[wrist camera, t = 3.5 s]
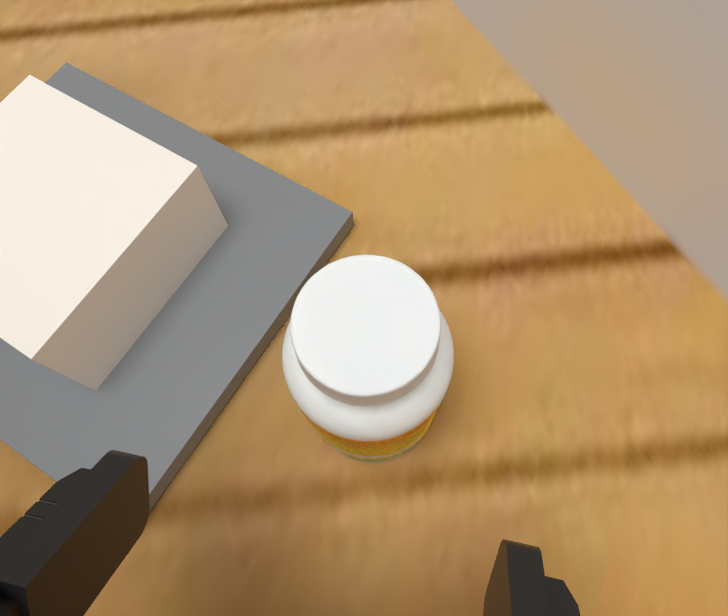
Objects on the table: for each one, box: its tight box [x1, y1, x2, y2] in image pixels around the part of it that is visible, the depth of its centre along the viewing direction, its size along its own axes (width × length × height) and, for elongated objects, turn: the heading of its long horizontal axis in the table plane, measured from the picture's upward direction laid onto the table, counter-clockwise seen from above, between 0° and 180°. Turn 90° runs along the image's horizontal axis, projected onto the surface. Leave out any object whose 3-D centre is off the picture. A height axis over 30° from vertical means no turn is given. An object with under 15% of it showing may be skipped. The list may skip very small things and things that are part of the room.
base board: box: [0, 63, 354, 512], centre depth 26 cm, size 18×16×1 cm
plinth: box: [0, 75, 228, 391], centre depth 23 cm, size 9×9×4 cm
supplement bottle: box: [282, 255, 454, 462], centre depth 19 cm, size 5×5×10 cm
